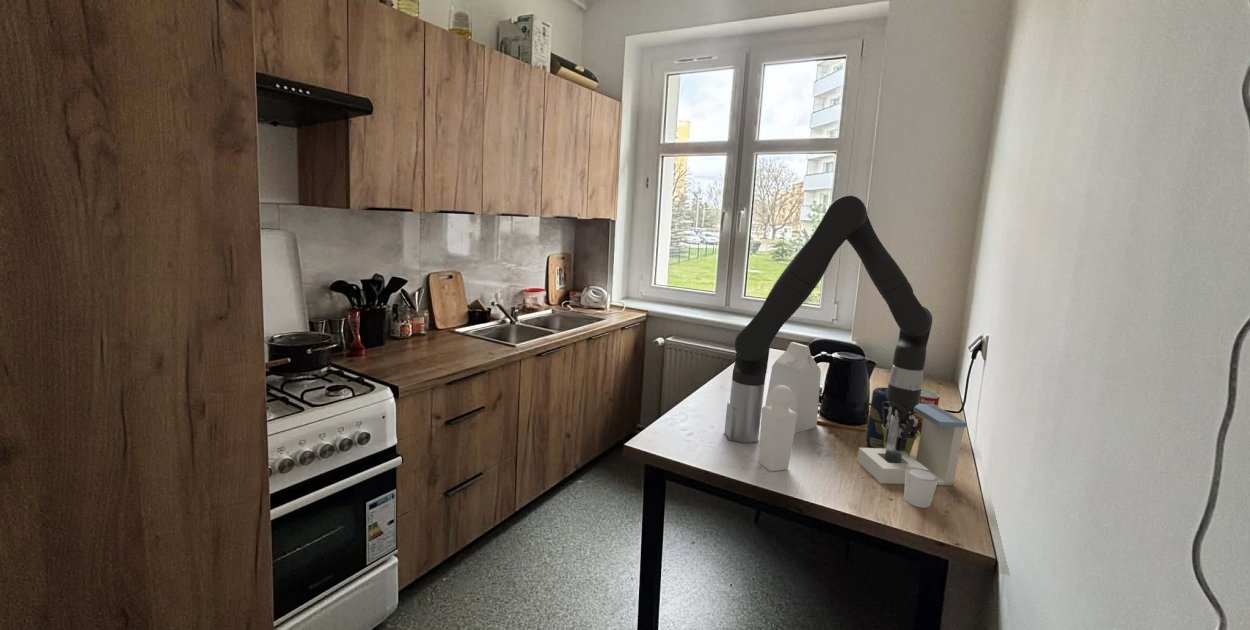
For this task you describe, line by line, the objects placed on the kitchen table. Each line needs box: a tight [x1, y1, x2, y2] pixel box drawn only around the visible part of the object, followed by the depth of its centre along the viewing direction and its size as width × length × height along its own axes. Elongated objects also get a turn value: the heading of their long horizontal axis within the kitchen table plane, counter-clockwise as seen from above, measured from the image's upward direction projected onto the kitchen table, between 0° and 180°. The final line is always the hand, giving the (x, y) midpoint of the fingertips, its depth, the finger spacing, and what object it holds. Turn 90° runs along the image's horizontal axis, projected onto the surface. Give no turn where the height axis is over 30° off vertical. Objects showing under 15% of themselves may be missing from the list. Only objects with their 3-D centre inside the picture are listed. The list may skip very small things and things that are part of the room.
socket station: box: [856, 404, 967, 486], centre depth 138 cm, size 19×13×17 cm
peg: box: [884, 415, 907, 463], centre depth 138 cm, size 4×4×12 cm
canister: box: [865, 387, 889, 448], centre depth 154 cm, size 10×10×18 cm
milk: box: [764, 341, 822, 434], centre depth 167 cm, size 12×12×26 cm
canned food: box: [914, 389, 940, 434], centre depth 171 cm, size 8×8×12 cm
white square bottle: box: [757, 385, 797, 472], centre depth 137 cm, size 6×6×22 cm
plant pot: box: [882, 424, 921, 456], centre depth 148 cm, size 9×9×9 cm
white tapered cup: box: [903, 468, 938, 509], centre depth 125 cm, size 7×7×7 cm
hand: (894, 446), depth 138 cm, fingers closed on peg, 4 cm apart
